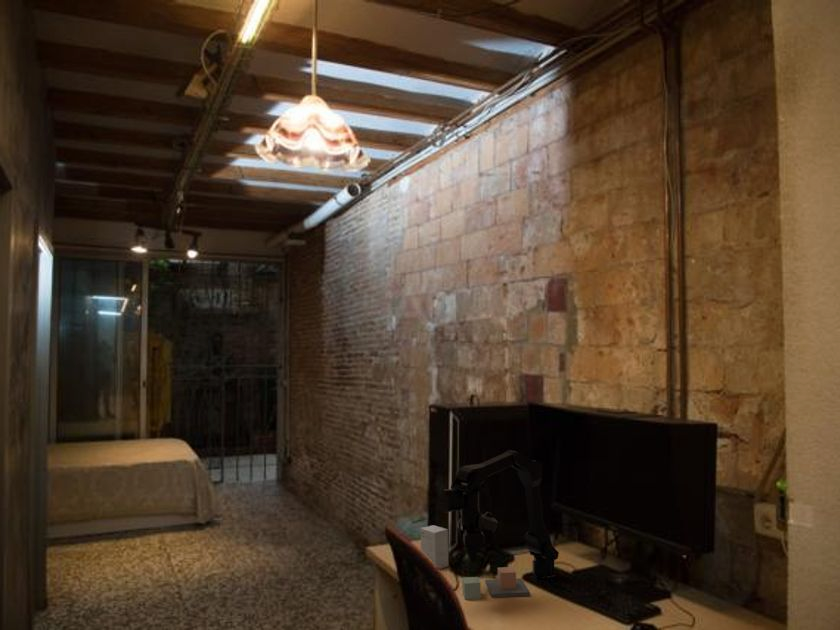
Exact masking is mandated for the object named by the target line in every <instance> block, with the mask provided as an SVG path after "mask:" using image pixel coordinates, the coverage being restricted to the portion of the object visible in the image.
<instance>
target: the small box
mask: <svg viewBox="0 0 840 630" xmlns="http://www.w3.org/2000/svg"><path fill="white" fill-rule="evenodd" d="M448 530H449V529H448V528H444V527H441V526H437V525H434V524H432V525H428V526H424V527H423V526H422V527H420V551H421V550H422V551H423V552H424V553H425V554H426V555H427V556H428V557H429V558H430V559H431V560H432V562H433V563H434V564H435V565H436V566H437V567H438V568H439V569H438V570H441V569H444V568H447V567H449V536H448V535H449V534H448V533H449V531H448Z"/></svg>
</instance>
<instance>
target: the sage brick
mask: <svg viewBox="0 0 840 630" xmlns="http://www.w3.org/2000/svg"><path fill="white" fill-rule="evenodd" d="M461 579H462V581H461V582H462V596H463V599H464V601H466V600H481V599H482V593H481V592H482V590H481V588H482V587H481V586H482V584H481V580H480V578H479V576H474V577H473V576H471V577H461Z"/></svg>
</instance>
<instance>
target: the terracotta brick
mask: <svg viewBox="0 0 840 630" xmlns="http://www.w3.org/2000/svg"><path fill="white" fill-rule="evenodd" d="M497 579H498V584H499V587H500V589H516V579H517V571H516V570H515V568H514V566H503V567H497Z"/></svg>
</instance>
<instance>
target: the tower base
mask: <svg viewBox="0 0 840 630" xmlns="http://www.w3.org/2000/svg"><path fill="white" fill-rule="evenodd" d="M484 582H485V584H484V585H485V586H486V588H487V590H488V592H489V595H490V598H492V599H493V598H495V599H496V598H514V597H515V598H517V597H519V598H521V597H531V593H530V590H529V588H528V587H527V585H526V584H525V582H524V580H523V579H522V578H518V577H517V578H516V589H500V587H499V584H498V578H497V579H494V578H493V579H485V580H484Z"/></svg>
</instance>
